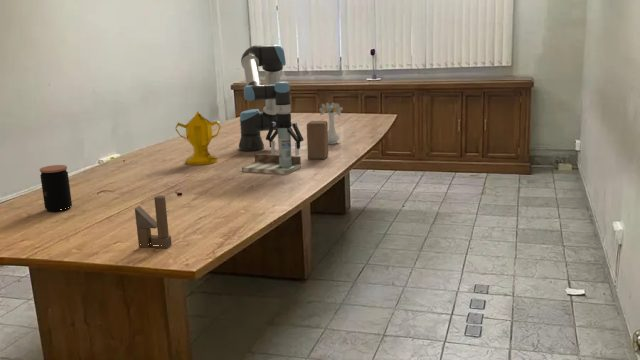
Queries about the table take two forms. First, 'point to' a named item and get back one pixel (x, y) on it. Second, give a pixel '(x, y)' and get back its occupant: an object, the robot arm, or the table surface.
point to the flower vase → (331, 120)
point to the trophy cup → (199, 139)
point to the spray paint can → (284, 147)
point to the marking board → (271, 164)
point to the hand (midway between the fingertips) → (285, 154)
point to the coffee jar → (55, 188)
